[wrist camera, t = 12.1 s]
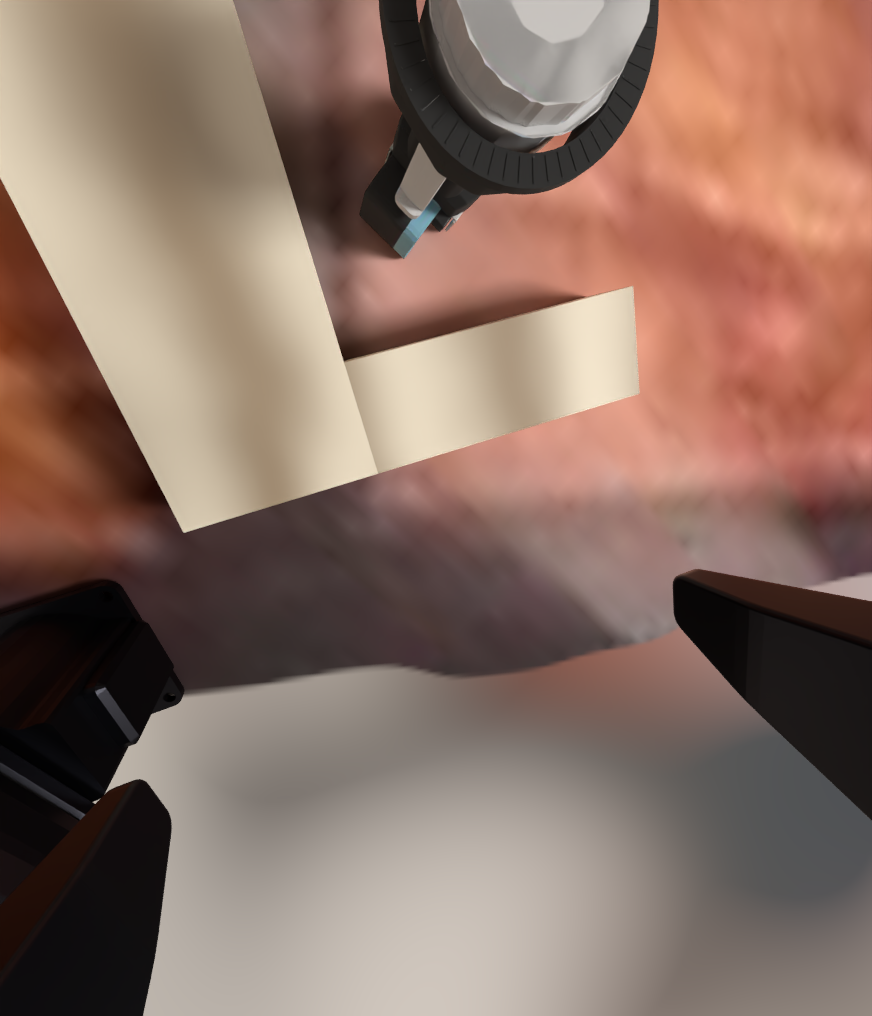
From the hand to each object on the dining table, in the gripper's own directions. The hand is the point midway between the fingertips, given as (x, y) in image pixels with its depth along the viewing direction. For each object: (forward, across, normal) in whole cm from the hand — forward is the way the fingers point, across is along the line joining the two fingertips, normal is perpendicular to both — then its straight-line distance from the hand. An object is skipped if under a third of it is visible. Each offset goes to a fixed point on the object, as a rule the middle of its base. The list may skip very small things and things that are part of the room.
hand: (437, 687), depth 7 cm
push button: (+13, -6, -10) cm, 18 cm away
